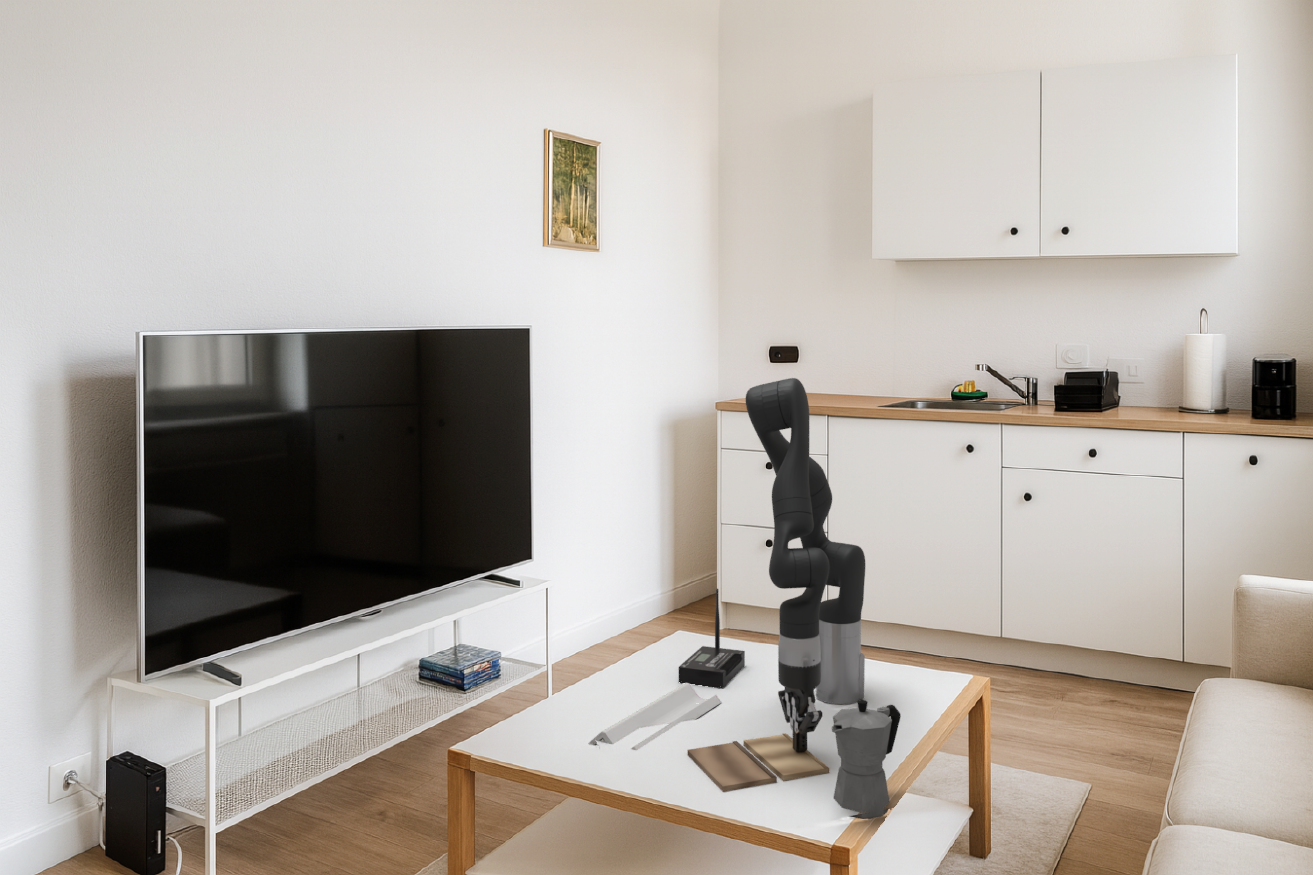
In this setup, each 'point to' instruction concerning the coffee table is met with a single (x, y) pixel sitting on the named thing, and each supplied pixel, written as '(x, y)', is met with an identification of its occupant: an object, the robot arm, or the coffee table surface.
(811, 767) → the oak plank
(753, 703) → the coffee table surface
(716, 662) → the wireless controller
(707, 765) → the walnut board
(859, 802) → the coffeepot
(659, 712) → the crown molding
